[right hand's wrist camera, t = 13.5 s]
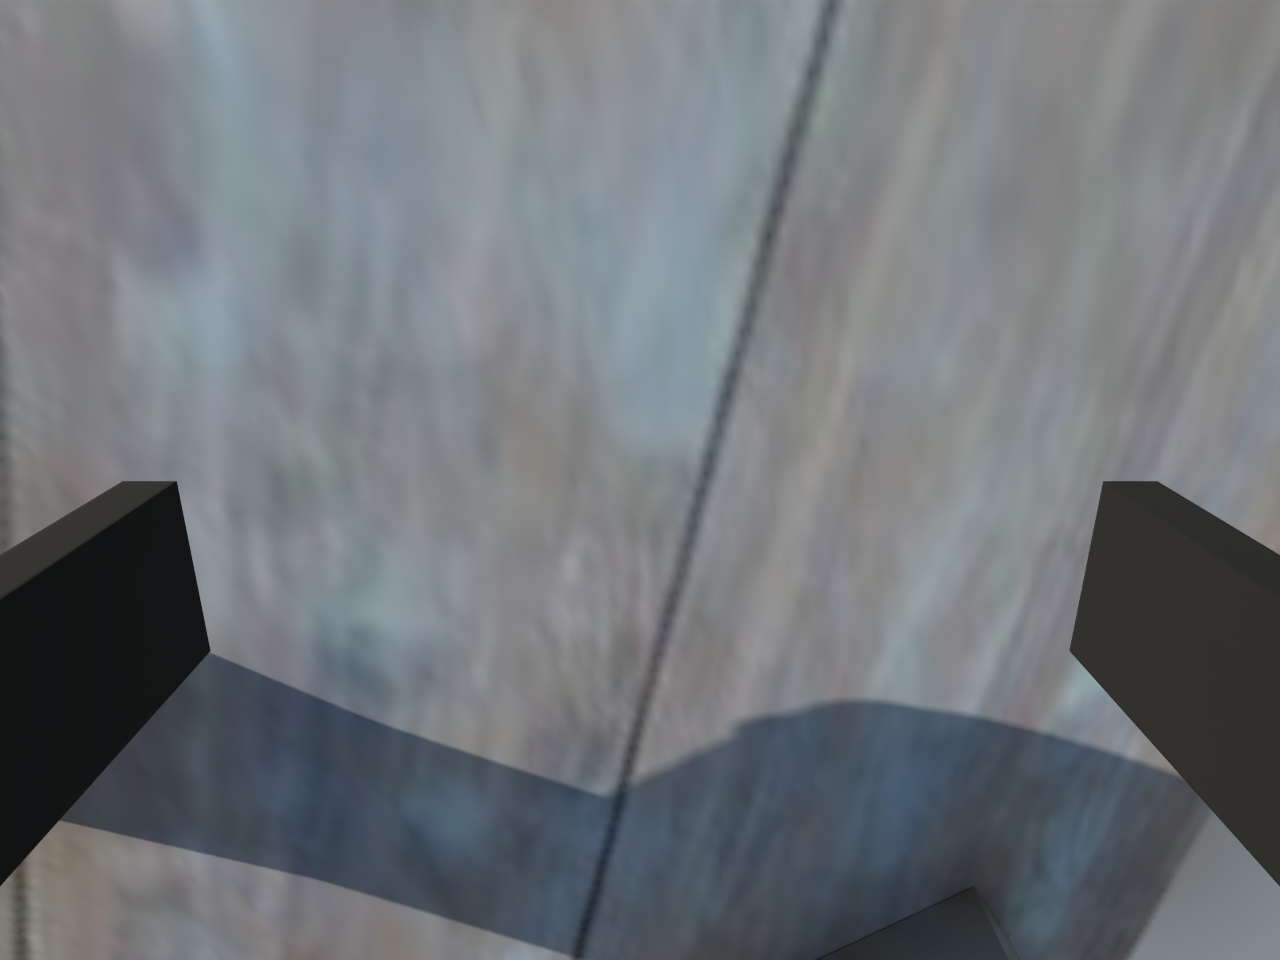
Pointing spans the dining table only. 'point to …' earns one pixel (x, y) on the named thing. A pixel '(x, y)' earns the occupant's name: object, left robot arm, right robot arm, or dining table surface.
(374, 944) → the dining table surface
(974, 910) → the bar
